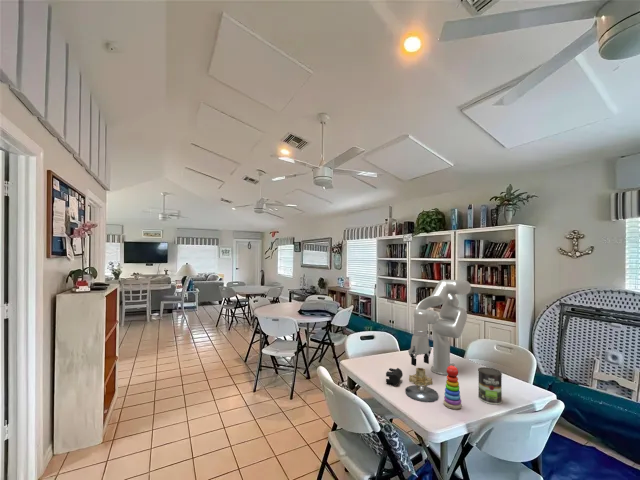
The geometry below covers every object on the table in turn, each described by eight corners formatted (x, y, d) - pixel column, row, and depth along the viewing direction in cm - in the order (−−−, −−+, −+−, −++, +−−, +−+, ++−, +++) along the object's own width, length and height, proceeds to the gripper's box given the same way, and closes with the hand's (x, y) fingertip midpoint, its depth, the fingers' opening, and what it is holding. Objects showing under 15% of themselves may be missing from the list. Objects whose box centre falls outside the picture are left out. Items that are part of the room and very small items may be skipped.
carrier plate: (420, 385, 163) (420, 378, 163) (445, 397, 149) (445, 390, 149) (398, 390, 156) (398, 383, 156) (422, 404, 142) (422, 396, 142)
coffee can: (504, 406, 141) (503, 376, 142) (479, 402, 145) (479, 372, 146) (499, 397, 151) (499, 368, 152) (477, 393, 155) (476, 365, 156)
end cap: (398, 387, 160) (398, 374, 160) (385, 384, 163) (385, 372, 164) (402, 380, 169) (402, 368, 169) (390, 378, 172) (390, 366, 172)
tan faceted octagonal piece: (420, 375, 177) (420, 364, 177) (437, 383, 166) (437, 371, 166) (404, 378, 171) (404, 367, 172) (421, 387, 160) (421, 375, 161)
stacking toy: (440, 401, 145) (440, 362, 146) (456, 401, 146) (455, 362, 147) (448, 410, 137) (448, 368, 138) (465, 409, 138) (465, 368, 139)
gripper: (426, 330, 177) (425, 360, 176) (404, 333, 169) (403, 363, 168) (436, 333, 170) (436, 364, 169) (414, 336, 162) (413, 368, 161)
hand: (420, 364), depth 169 cm, fingers open, 9 cm apart
